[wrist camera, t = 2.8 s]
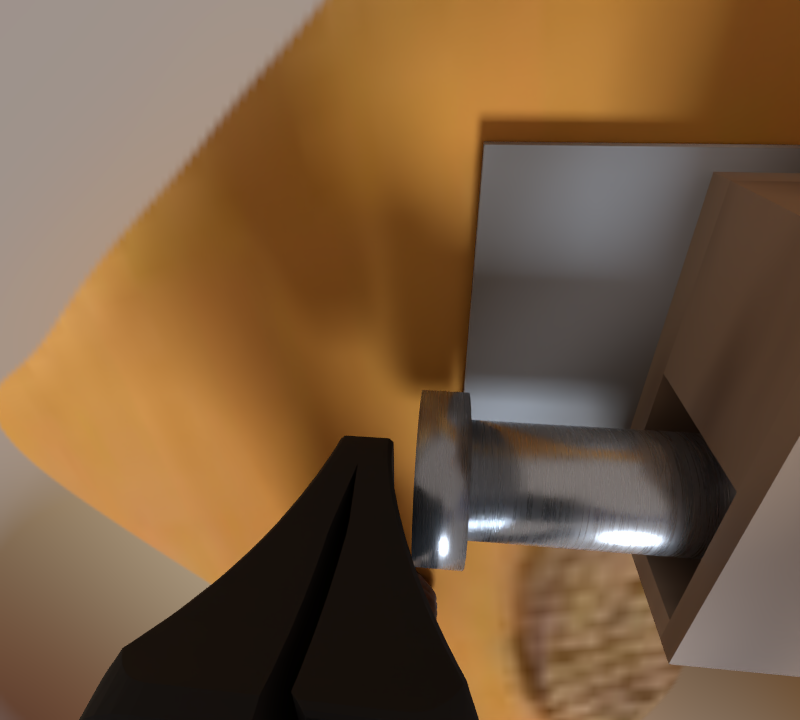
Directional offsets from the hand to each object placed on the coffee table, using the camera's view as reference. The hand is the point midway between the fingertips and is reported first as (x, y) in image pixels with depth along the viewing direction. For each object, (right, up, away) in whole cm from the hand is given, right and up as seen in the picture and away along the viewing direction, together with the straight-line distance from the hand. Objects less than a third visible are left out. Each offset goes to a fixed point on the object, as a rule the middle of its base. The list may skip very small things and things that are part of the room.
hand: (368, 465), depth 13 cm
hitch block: (+9, +2, +1) cm, 9 cm away
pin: (+6, +1, +1) cm, 6 cm away
